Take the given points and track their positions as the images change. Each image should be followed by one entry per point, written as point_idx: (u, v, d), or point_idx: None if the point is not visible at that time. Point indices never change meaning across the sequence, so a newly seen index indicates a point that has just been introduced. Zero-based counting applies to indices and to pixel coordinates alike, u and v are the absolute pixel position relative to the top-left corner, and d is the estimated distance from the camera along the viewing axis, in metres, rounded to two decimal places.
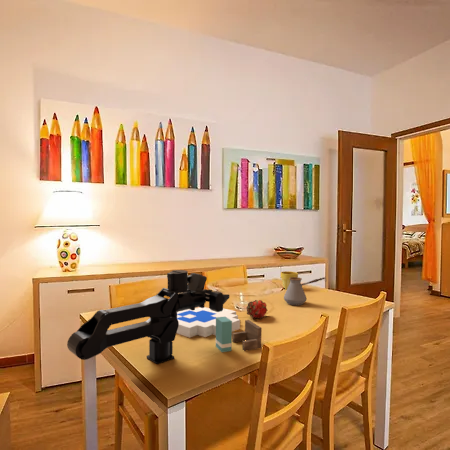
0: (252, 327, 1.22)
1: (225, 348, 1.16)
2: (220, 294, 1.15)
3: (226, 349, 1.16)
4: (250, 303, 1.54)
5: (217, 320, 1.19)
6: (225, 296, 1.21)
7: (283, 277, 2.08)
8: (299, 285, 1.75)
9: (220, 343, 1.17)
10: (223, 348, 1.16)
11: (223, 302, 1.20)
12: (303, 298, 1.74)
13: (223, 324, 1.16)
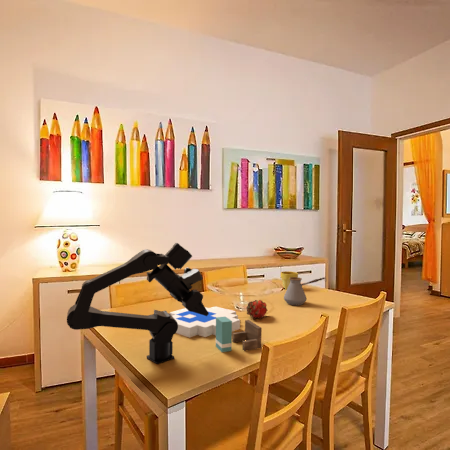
0: (252, 327, 1.22)
1: (225, 348, 1.16)
2: (200, 294, 1.05)
3: (226, 349, 1.16)
4: (250, 303, 1.54)
5: (217, 320, 1.19)
6: (203, 309, 1.10)
7: (283, 277, 2.08)
8: (299, 285, 1.75)
9: (220, 343, 1.17)
10: (223, 348, 1.16)
11: (197, 311, 1.09)
12: (303, 298, 1.74)
13: (223, 324, 1.16)
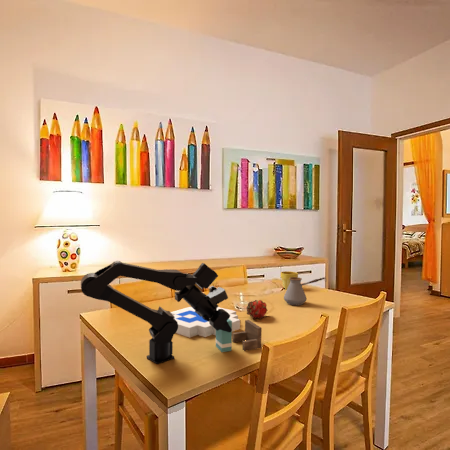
0: (252, 327, 1.22)
1: (225, 348, 1.16)
2: (227, 314, 1.09)
3: (226, 349, 1.16)
4: (250, 303, 1.54)
5: None
6: (227, 326, 1.15)
7: (283, 277, 2.08)
8: (299, 285, 1.75)
9: (220, 343, 1.17)
10: (223, 348, 1.16)
11: (222, 328, 1.14)
12: (303, 298, 1.74)
13: None
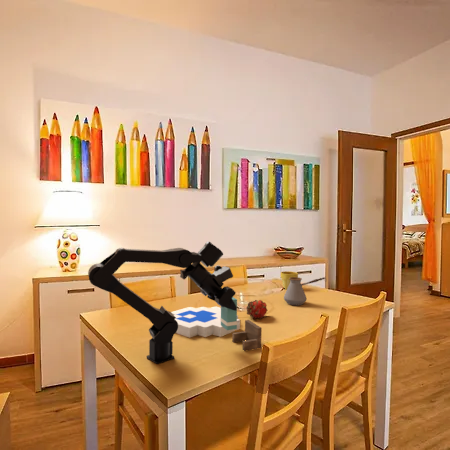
0: (252, 327, 1.22)
1: (230, 326, 1.17)
2: (233, 291, 1.09)
3: (231, 327, 1.17)
4: (250, 303, 1.54)
5: None
6: (233, 304, 1.15)
7: (283, 277, 2.08)
8: (299, 285, 1.75)
9: (225, 321, 1.17)
10: (229, 326, 1.17)
11: (227, 306, 1.14)
12: (303, 298, 1.74)
13: None
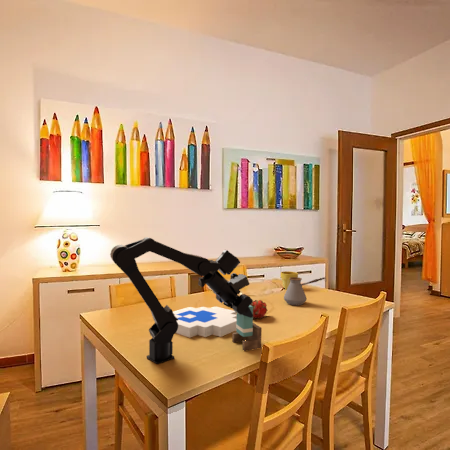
0: None
1: (246, 332, 1.19)
2: (250, 299, 1.12)
3: (247, 334, 1.19)
4: None
5: None
6: (249, 311, 1.18)
7: (283, 277, 2.08)
8: (299, 285, 1.75)
9: (241, 328, 1.20)
10: (245, 333, 1.19)
11: (244, 313, 1.17)
12: (303, 298, 1.74)
13: None
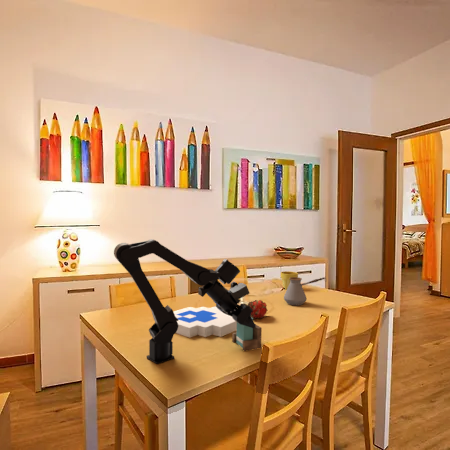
0: None
1: None
2: (250, 308, 1.12)
3: None
4: (250, 303, 1.54)
5: None
6: (251, 321, 1.17)
7: (283, 277, 2.08)
8: (299, 285, 1.75)
9: (241, 340, 1.20)
10: None
11: (246, 324, 1.15)
12: (303, 298, 1.74)
13: None
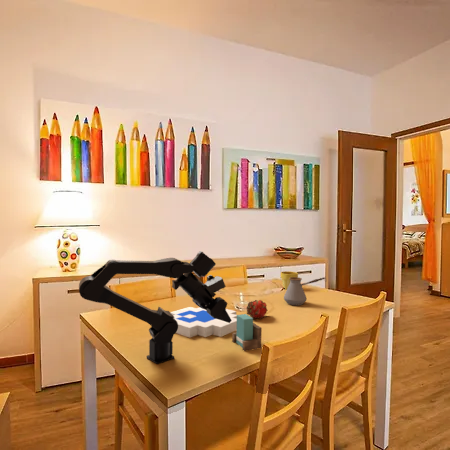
0: None
1: None
2: (225, 302, 1.09)
3: None
4: (250, 303, 1.54)
5: (238, 317, 1.22)
6: (227, 316, 1.13)
7: (283, 277, 2.08)
8: (299, 285, 1.75)
9: (241, 340, 1.20)
10: None
11: (221, 318, 1.12)
12: (303, 298, 1.74)
13: (245, 321, 1.19)
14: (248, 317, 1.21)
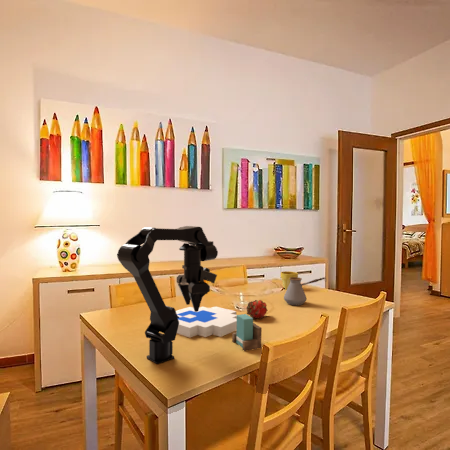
0: None
1: None
2: (209, 288, 1.13)
3: None
4: (250, 303, 1.54)
5: (238, 317, 1.22)
6: (198, 303, 1.16)
7: (283, 277, 2.08)
8: (299, 285, 1.75)
9: (241, 340, 1.20)
10: None
11: (194, 300, 1.15)
12: (303, 298, 1.74)
13: (245, 321, 1.19)
14: (248, 317, 1.21)
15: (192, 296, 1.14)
